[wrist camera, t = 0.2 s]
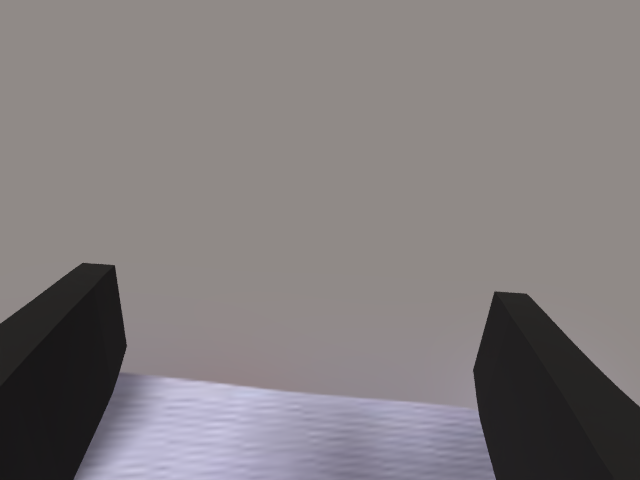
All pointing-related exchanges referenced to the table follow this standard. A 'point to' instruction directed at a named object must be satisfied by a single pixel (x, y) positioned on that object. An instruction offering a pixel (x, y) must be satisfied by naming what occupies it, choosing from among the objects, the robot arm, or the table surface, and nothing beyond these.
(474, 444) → the table surface
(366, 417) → the table surface
